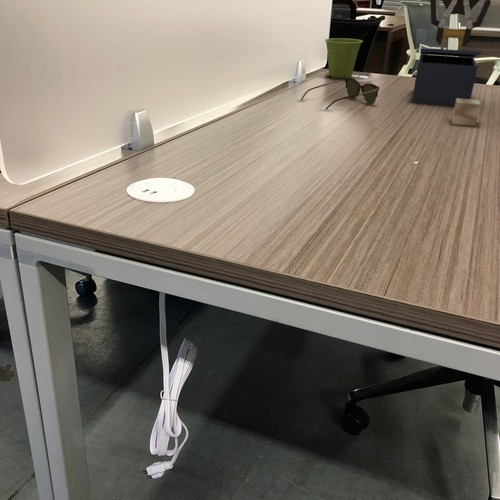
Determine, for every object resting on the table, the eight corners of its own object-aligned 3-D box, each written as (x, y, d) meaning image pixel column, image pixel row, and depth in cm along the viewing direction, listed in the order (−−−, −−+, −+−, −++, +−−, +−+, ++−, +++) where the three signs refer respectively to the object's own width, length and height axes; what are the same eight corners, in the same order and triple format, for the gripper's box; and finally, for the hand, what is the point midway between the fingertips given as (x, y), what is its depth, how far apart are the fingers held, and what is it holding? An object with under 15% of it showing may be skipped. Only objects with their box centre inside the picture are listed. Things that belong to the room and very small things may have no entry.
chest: (468, 107, 128) (478, 66, 123) (411, 102, 132) (418, 62, 127) (465, 95, 143) (473, 57, 138) (414, 90, 147) (420, 54, 142)
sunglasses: (378, 106, 126) (380, 86, 124) (328, 116, 121) (329, 94, 118) (344, 95, 138) (345, 76, 135) (297, 103, 132) (297, 84, 130)
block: (474, 121, 115) (479, 99, 112) (475, 126, 111) (480, 104, 108) (451, 119, 116) (456, 98, 114) (452, 124, 112) (457, 102, 110)
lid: (480, 55, 122) (486, 29, 120) (420, 51, 125) (424, 26, 123) (473, 57, 138) (478, 35, 136) (420, 54, 142) (424, 32, 140)
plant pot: (321, 73, 171) (324, 37, 165) (356, 75, 170) (360, 38, 164) (322, 79, 160) (325, 41, 155) (359, 81, 159) (364, 42, 154)
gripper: (434, -35, 116) (420, 44, 124) (501, -34, 112) (483, 48, 120) (434, -34, 122) (421, 42, 130) (498, -33, 119) (481, 45, 126)
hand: (451, 44), depth 125 cm, fingers closed on lid, 5 cm apart
